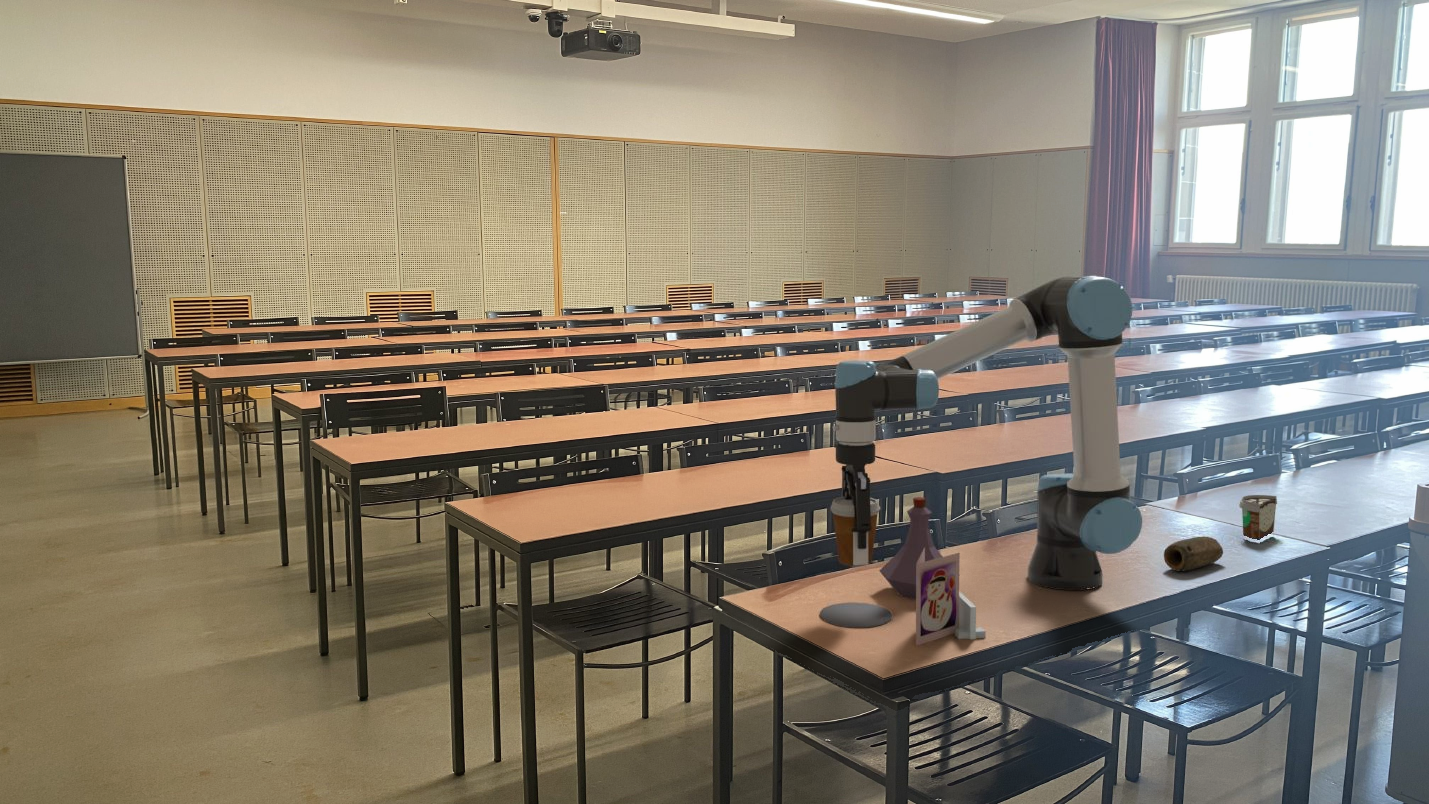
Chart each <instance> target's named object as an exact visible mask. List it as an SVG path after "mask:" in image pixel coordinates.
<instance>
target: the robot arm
mask: <svg viewBox="0 0 1429 804" xmlns="http://www.w3.org/2000/svg"><path fill="white" fill-rule="evenodd" d="M1132 303H1133V302H1132V299H1131V297H1130V294H1129V292H1128V291H1127V290H1126V289H1125V287H1124V286H1123V285H1121V284H1120V283H1119V282H1117V281H1115V280H1114V279H1112V278H1109V277H1103V276H1099V275H1088V276H1063V277H1058V278H1056V279H1052V280H1050V281H1048V282H1045V283H1044V284H1042V285H1040V286H1037V287H1036V288H1034V289H1031V290H1030V291H1027V292H1026V293H1024V294H1021V295H1020V296H1017V297H1015V298H1013V299H1011V300H1010V302H1009V304H1008V306H1007V307H1005V308H1003V309H1001V310H998V311H997V312H994V313H992V314H990V315H988V316H986V317H984V318H981V319H979V320H977V321H975V322H973V323H971V324H968V325H966V326H963V327H962V328H959V329H957V330H956V331H955V330H954V331H952V332H950V333H949V334H946V335H944V336H941V337H940V338H938V339H935V340H932V341H931V342H929V343H927V344H924V345H923V346H921V347H918V348H916V349H913V350H911V351H909V352H908V353H907V352H906V353H905V354H903V355H901V356H899V357H896V358H894V359H892V360H889V361H887V362H877V363H875V362H874V361H871V360H844V361H843V360H842V361H840V362H838V364H837V365H836V367H835V380H834V381H835V382H834V383H835V384H834V388H835V389H834V390H835V396H834V397H835V425H832V430H833V431H835V439H836V441H837V443H836V444H835V461H836V462H837V464H838V463H839V464H841V465H842V466H841V468H840V469H841V497H845V499H846V500H851V499H852V503H853V505H854V513H855V514H854V525H855V528H852V529H851V532H853V565H864V566H868V565H869V564H868V531H871V528H872V527H871V510H870V498H871V492H870V491H871V478H870V477H869V476H868V475H869V474H868V472H866V467H865V466H867V465H871V464H874V463H875V462H876V443H874V441H876V435H877V433H876V428H877V427H876V423H877V421H876V420H877V419H876V411H891V410H892V411H893V410H894V411H895V410H917V411H920V410H922V409H923V410H924V409H931V408H934V407H935V406H936V405H937V402H938V400H939V395H940V385H939V380H940V379H942V378H944V377H947V376H949V375H951V374H953V373H955V372H958V371H960V370H962V369H964V368H966V367H968V366H970V365H973V364H974V363H977V362H979V361H982V360H983V359H986V358H988V357H991V356H992V355H994V354H997V353H999V352H1001V351H1003V350H1005V349H1008V348H1011V347H1013V346H1015V345H1016V344H1017V345H1018V344H1019V343H1021V342H1024V341H1026V342H1029V343H1032V342H1035V341H1037V340H1039V339H1042V338H1045V337H1049V336H1055V335H1057V336H1058V337H1057V338H1058V339H1057V340H1058V349H1059V350H1060V351H1061V352H1062V353H1063V354H1065V356H1066V357H1067V370H1068V387H1069V404H1070V419H1071V421H1070V422H1071V439H1072V455H1073V459H1072V460H1073V473H1053V474H1051V473H1050V474H1044V475H1042V476H1040V477H1039V479H1038V485H1037V489H1036V495H1037V497H1036V498H1037V500H1036V501H1037V502H1036V503H1037V505H1036V508H1037V511H1036V518H1037V519H1036V544H1035V547H1034V550H1033V552H1032V556H1031V558H1030V561H1029V564H1028V566H1027V579H1028V580H1029V581H1031V582H1032V583H1033V582H1034V583H1033V584H1036V585H1038V586H1041V587H1046V588H1048V589H1049V588H1050V589H1055V590H1063V591H1082V590H1081V589H1086V590H1088V589H1087V588H1092V589H1094V588H1093V587H1096V588H1098V587H1097V586H1099V585H1100V586H1102V585H1103V577H1104V574H1103V570H1102V565H1101V563H1100V560H1099V557H1098V554H1097V553H1100V554H1104V555H1105V554H1106V555H1112V554H1113V555H1114V554H1118V553H1121V552H1123V551H1125V550H1127V549H1128V548H1129V547H1131V545H1133V544H1134V542H1136V541H1137V539H1138V538H1139V536H1140V534H1141V531H1142V529H1143V516H1142V515H1143V514H1142V512H1141V510H1140V508H1139V507H1138V506H1137V505H1136V503H1135V502H1134V501H1132V500H1131V491H1130V490H1131V488H1130V485H1131V484H1130V481H1129V480H1128V479H1127V478H1126V477H1125V476H1124V475H1122V473H1121V460H1120V459H1121V458H1120V457H1121V456H1120V440H1119V439H1120V438H1119V437H1120V436H1119V434H1120V433H1119V417H1118V399H1117V397H1118V396H1117V395H1118V394H1117V378H1116V377H1117V375H1116V359H1115V358H1116V357H1115V355H1116V352H1117V351H1118V350H1119V349H1120V348H1121V346H1122V345H1124V344H1123V343H1124V342H1123V332H1125V330H1126V328H1127V326H1129V325H1130V322H1131V320H1132V316H1133V304H1132ZM1100 586H1099V587H1100Z"/></svg>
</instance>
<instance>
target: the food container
mask: <svg viewBox="0 0 1429 804" xmlns="http://www.w3.org/2000/svg"><path fill="white" fill-rule="evenodd" d="M1277 497H1278V496H1277V495H1270V494H1269V495H1267V494H1249V495H1244V496H1242V497H1241V499H1240V500H1239V501H1240V502H1239V504H1238V505H1239V506H1238V507H1239V508H1241V515H1242V535H1244V536H1247V537H1249V538H1252V539H1257V540H1260V539H1261V538H1263V537H1264V536H1267V535H1268V534H1271V533H1272V532H1274V530H1275V523H1276V522H1275V521H1276V520H1275V518H1276V510H1277V509H1276V508H1277V507H1276V506H1277V504H1278V498H1277ZM1274 533H1275V532H1274Z"/></svg>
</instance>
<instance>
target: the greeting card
mask: <svg viewBox="0 0 1429 804" xmlns="http://www.w3.org/2000/svg"><path fill="white" fill-rule="evenodd" d="M960 554H961V553H960V552H957V553H953V554H949V555H945V556H943V557H941V558H937V559H933V560H930V561H926V562H925V548H924V550H923V552H922V554H921V556H920V558H919V559H918V561H917V563H916V600H915V646H920V645H923V644H926V643H929V642H932V641H934V640H938V639H941V638H944V637H947V636H950V635H953V634H955V629H960V628H959V591H960V576H959V575H960V558H961V557H960Z"/></svg>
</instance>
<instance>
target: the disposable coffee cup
mask: <svg viewBox="0 0 1429 804" xmlns="http://www.w3.org/2000/svg"><path fill="white" fill-rule="evenodd" d="M829 508H830V511H831V513H832V518H833V525H834V532H835V533H834V534H835V540H836V549H837V557H838V562H839V563H840V564H841V565H844V566H851V567H863V566H865V565H853V532H851V529H852V528H855V525H854V514H855V513H854V505H853V503H852V499H851V500H846V499H845V497H842V496H841V497H836V498H834V499H833V500H832V503H831V505H830V506H829ZM870 510H871V527H872V528H871V531H868V565H870V564H872V561H873V554H874V546H875V538H876V531H877V530H876V529H877V522H878V515H879V513H880V511H881V506H880V505H879V501H878V500H877V499H876V498H872V497H870Z"/></svg>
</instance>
